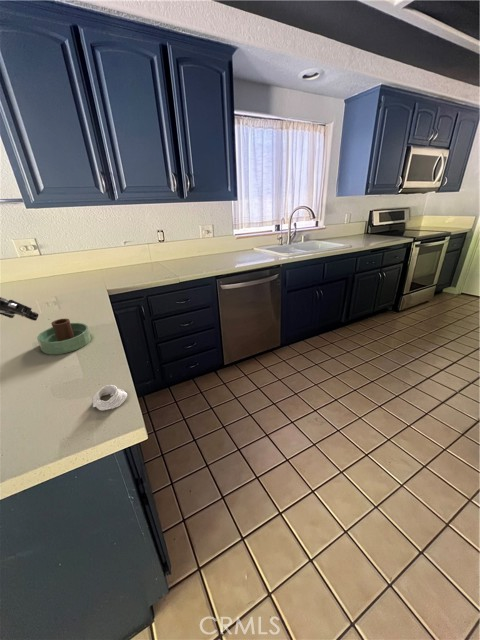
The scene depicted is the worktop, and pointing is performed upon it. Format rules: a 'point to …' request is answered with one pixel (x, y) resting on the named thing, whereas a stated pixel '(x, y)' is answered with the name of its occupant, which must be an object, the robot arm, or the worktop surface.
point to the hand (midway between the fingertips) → (24, 316)
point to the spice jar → (62, 329)
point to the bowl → (53, 347)
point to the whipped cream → (113, 401)
